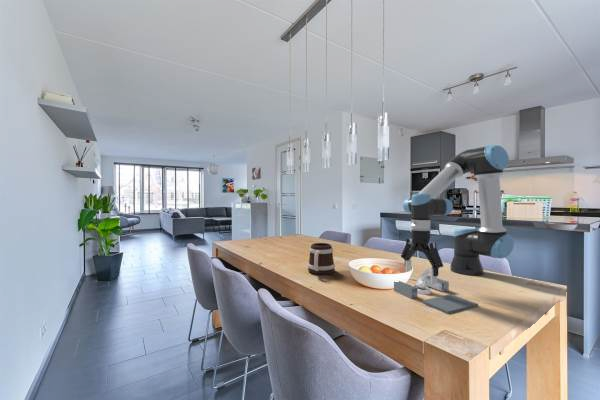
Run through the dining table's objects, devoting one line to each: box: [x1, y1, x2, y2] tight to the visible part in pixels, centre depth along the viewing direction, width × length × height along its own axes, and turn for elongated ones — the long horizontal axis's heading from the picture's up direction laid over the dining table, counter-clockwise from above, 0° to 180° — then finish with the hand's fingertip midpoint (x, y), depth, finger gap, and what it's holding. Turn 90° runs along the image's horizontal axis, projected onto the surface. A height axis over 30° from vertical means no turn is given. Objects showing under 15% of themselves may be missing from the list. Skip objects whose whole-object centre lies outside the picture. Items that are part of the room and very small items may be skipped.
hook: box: [413, 268, 432, 295], centre depth 115 cm, size 8×12×7 cm
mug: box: [307, 242, 336, 276], centre depth 146 cm, size 20×15×15 cm
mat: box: [421, 293, 479, 315], centre depth 101 cm, size 16×11×1 cm
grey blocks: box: [393, 275, 450, 300], centre depth 116 cm, size 21×10×4 cm, turn 113°
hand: (420, 279), depth 116 cm, fingers open, 13 cm apart
